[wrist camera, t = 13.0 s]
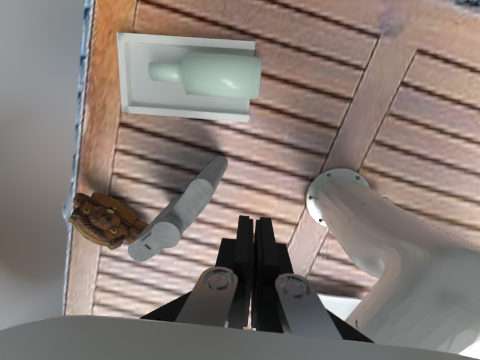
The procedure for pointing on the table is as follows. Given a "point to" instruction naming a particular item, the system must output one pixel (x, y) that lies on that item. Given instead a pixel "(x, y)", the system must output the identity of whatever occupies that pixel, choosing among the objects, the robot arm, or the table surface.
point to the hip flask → (179, 213)
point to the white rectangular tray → (172, 93)
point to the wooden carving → (105, 220)
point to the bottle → (213, 74)
